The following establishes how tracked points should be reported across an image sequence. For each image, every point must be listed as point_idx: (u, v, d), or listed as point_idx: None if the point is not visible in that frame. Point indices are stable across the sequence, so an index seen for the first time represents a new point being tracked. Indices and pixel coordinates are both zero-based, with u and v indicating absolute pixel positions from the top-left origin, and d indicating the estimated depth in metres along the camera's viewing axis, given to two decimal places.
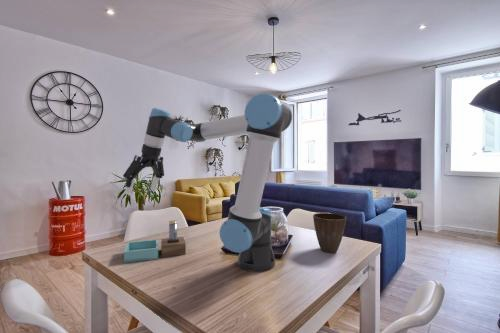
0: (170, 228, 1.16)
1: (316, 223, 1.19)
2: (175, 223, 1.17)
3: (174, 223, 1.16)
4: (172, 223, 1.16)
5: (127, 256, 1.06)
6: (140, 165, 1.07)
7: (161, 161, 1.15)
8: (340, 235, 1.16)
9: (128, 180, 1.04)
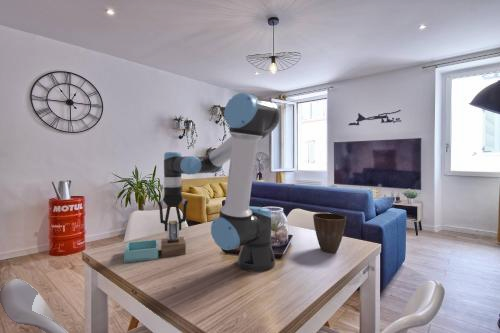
0: (170, 228, 1.16)
1: (316, 223, 1.19)
2: (175, 223, 1.17)
3: (174, 223, 1.16)
4: (172, 223, 1.16)
5: (127, 256, 1.06)
6: (167, 208, 1.16)
7: (185, 204, 1.18)
8: (340, 235, 1.16)
9: None
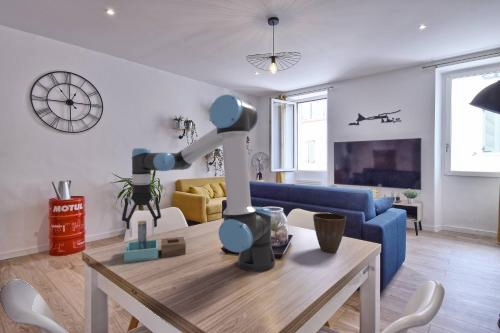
0: (139, 228, 1.12)
1: (316, 223, 1.19)
2: (144, 223, 1.12)
3: (143, 223, 1.12)
4: (140, 223, 1.12)
5: (127, 256, 1.06)
6: None
7: (156, 200, 1.14)
8: (340, 235, 1.16)
9: (126, 222, 1.11)
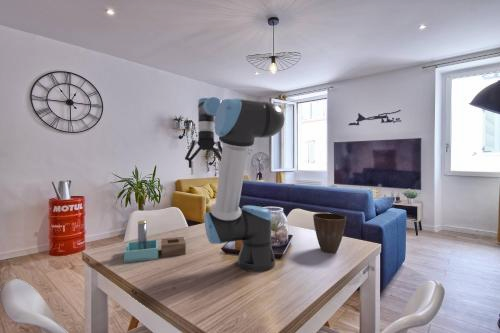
0: (139, 228, 1.12)
1: (316, 223, 1.19)
2: (144, 223, 1.12)
3: (143, 223, 1.12)
4: (140, 223, 1.12)
5: (127, 256, 1.06)
6: None
7: (219, 145, 1.28)
8: (340, 235, 1.16)
9: None
